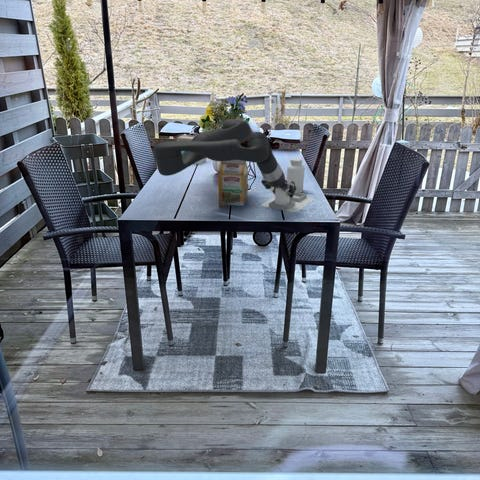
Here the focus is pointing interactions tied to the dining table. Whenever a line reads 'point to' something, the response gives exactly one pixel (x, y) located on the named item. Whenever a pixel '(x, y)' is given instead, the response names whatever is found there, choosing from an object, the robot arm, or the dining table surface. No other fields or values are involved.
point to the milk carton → (233, 183)
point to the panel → (290, 203)
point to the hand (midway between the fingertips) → (284, 194)
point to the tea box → (189, 138)
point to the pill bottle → (296, 173)
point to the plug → (281, 197)
